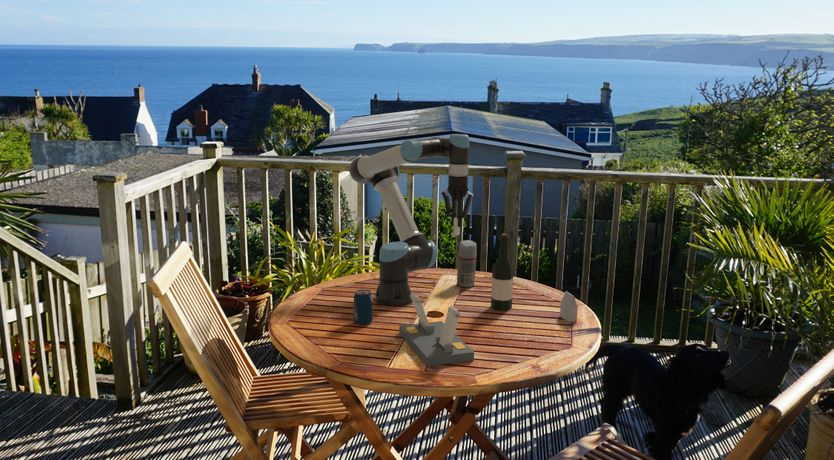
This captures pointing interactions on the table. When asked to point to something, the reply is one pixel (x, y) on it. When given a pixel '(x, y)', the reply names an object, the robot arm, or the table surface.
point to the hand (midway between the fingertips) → (456, 234)
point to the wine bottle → (502, 278)
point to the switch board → (435, 344)
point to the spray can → (466, 264)
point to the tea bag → (568, 308)
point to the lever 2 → (449, 326)
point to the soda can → (363, 307)
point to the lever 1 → (419, 310)
